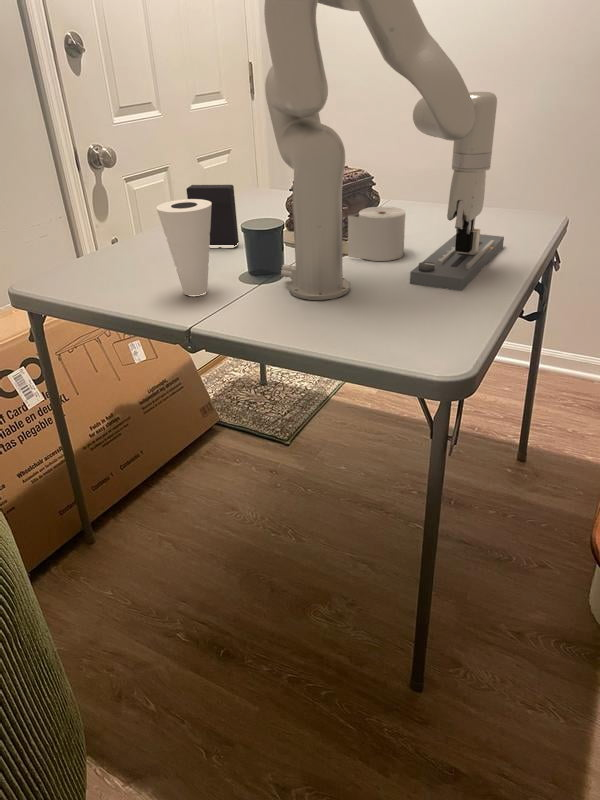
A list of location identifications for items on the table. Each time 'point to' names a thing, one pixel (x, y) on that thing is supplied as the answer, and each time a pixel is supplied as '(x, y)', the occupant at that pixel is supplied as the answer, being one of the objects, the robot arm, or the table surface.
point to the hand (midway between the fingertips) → (463, 250)
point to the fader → (474, 243)
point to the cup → (188, 240)
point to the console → (455, 264)
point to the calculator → (219, 211)
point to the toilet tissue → (377, 234)
